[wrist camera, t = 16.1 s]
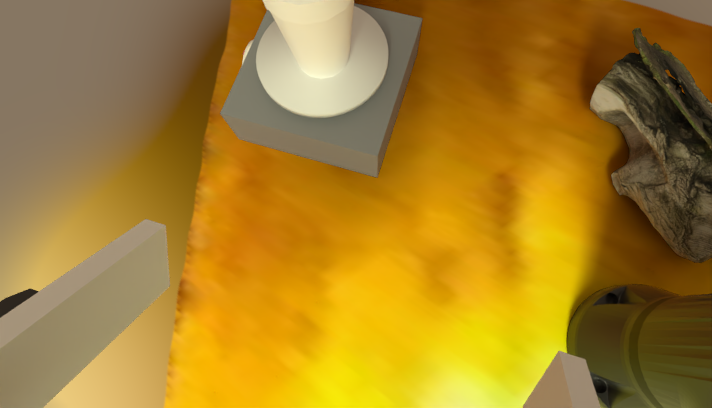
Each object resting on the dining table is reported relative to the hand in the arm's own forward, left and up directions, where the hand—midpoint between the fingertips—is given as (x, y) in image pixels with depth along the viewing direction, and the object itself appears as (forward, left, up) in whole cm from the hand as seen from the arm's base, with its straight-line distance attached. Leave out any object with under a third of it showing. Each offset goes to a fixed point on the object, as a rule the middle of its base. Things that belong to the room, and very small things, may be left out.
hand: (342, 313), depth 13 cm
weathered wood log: (-29, -30, -36) cm, 55 cm away
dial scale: (+14, -28, -36) cm, 47 cm away
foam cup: (+14, -27, -27) cm, 41 cm away
